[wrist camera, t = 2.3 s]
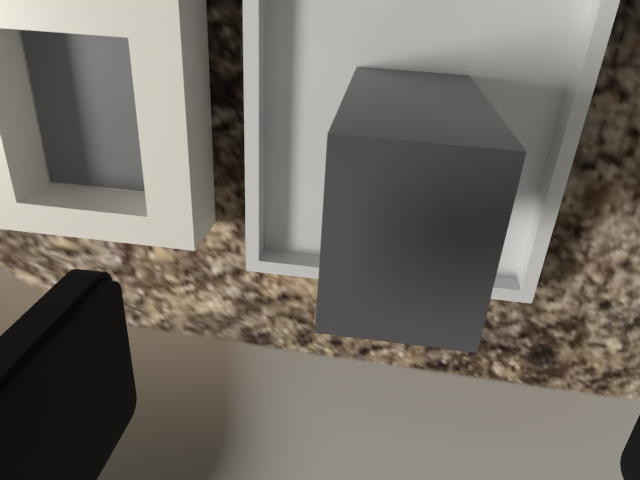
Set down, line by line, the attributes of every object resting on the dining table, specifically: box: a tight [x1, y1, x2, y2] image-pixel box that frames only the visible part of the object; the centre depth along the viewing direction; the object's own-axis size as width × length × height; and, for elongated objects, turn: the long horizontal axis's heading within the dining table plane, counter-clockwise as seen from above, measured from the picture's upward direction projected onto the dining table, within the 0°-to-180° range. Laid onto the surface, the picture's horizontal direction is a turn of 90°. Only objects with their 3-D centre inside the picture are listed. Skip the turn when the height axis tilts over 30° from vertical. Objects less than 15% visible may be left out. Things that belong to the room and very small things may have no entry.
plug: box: [315, 67, 527, 353], centre depth 17 cm, size 4×6×10 cm
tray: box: [243, 0, 620, 303], centre depth 21 cm, size 13×13×2 cm
